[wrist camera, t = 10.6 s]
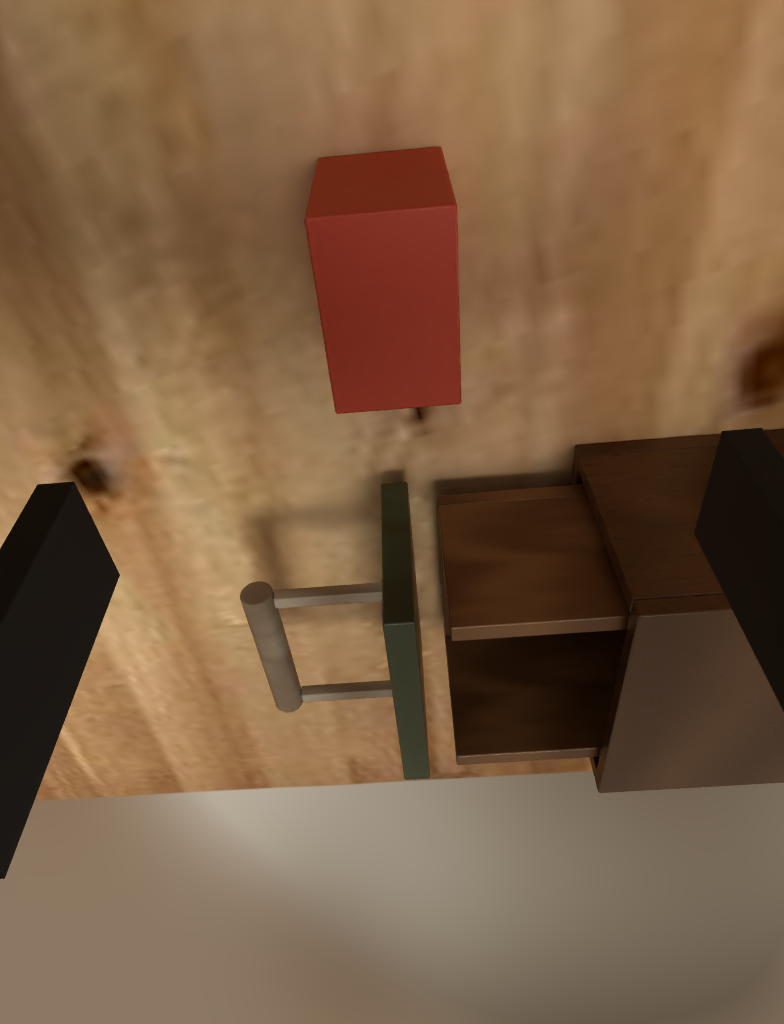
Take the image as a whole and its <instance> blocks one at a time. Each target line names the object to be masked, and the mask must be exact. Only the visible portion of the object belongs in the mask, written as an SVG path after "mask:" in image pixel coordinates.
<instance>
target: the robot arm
mask: <svg viewBox="0 0 784 1024" xmlns="http://www.w3.org/2000/svg"><path fill="white" fill-rule="evenodd" d="M694 535H695V537H696V539H697V541H698V543H699V545H700V547H701V549H702V551H703V553H704V555H705V557H706V559H707V561H708V563H709V565H710V567H711V569H712V571H713V573H714V575H715V577H716V579H717V581H718V583H719V585H720V587H721V589H722V591H723V593H724V595H725V597H726V599H727V600H728V602H729V604H730V606H731V608H732V610H733V612H734V614H735V616H736V618H737V620H738V622H739V624H740V626H741V628H742V630H743V632H744V634H745V636H746V638H747V640H748V642H749V644H750V646H751V648H752V650H753V652H754V654H755V656H756V658H757V660H758V662H759V664H760V666H761V668H762V670H763V672H764V674H765V676H766V678H767V680H768V682H769V684H770V686H771V688H772V690H773V692H774V694H775V696H776V698H777V700H778V702H779V704H780V706H781V708H782V710H783V712H784V458H783V457H782V455H781V454H780V453H779V451H778V450H777V449H776V447H775V446H774V444H773V443H772V442H771V440H770V439H769V438H768V436H767V435H766V434H765V432H764V431H763V429H762V428H756V429H743V430H731V431H722V432H721V436H720V440H719V443H718V447H717V451H716V454H715V458H714V462H713V465H712V469H711V472H710V476H709V480H708V483H707V487H706V491H705V494H704V498H703V502H702V505H701V509H700V513H699V516H698V520H697V524H696V527H695V531H694ZM119 576H120V574H119V572H118V570H117V568H116V566H115V564H114V562H113V560H112V558H111V556H110V554H109V552H108V550H107V548H106V546H105V544H104V542H103V540H102V538H101V536H100V533H99V531H98V529H97V527H96V525H95V523H94V521H93V519H92V517H91V515H90V513H89V511H88V509H87V507H86V505H85V503H84V501H83V499H82V497H81V495H80V493H79V491H78V489H77V486H76V484H75V482H64V483H51V484H38V485H37V486H36V488H35V490H34V492H33V493H32V495H31V497H30V498H29V500H28V502H27V504H26V505H25V507H24V509H23V511H22V512H21V514H20V516H19V517H18V519H17V521H16V523H15V524H14V526H13V528H12V530H11V531H10V533H9V535H8V536H7V538H6V540H5V542H4V543H3V545H2V547H1V549H0V879H4V878H5V876H6V874H7V871H8V868H9V866H10V863H11V861H12V858H13V855H14V853H15V850H16V847H17V845H18V842H19V839H20V837H21V834H22V831H23V829H24V826H25V824H26V821H27V818H28V816H29V813H30V810H31V808H32V805H33V803H34V800H35V797H36V795H37V792H38V789H39V787H40V784H41V781H42V779H43V776H44V774H45V771H46V768H47V766H48V763H49V760H50V758H51V755H52V753H53V750H54V747H55V745H56V742H57V739H58V737H59V734H60V731H61V729H62V726H63V724H64V721H65V718H66V716H67V713H68V710H69V708H70V705H71V702H72V700H73V697H74V695H75V692H76V689H77V687H78V684H79V681H80V679H81V676H82V673H83V671H84V668H85V666H86V663H87V660H88V658H89V655H90V652H91V650H92V647H93V644H94V642H95V639H96V637H97V634H98V631H99V629H100V626H101V623H102V621H103V618H104V615H105V613H106V610H107V608H108V605H109V602H110V600H111V597H112V594H113V592H114V589H115V586H116V584H117V581H118V579H119Z"/></svg>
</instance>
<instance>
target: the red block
mask: <svg viewBox="0 0 784 1024" xmlns="http://www.w3.org/2000/svg"><path fill="white" fill-rule="evenodd" d="M305 227H306V233H307V239H308V245H309V251H310V258H311V264H312V270H313V276H314V282H315V289H316V295H317V301H318V307H319V313H320V320H321V326H322V332H323V338H324V344H325V350H326V357H327V363H328V369H329V375H330V381H331V388H332V394H333V400H334V406H335V412H336V413H337V414H341V413H353V412H366V411H378V410H390V409H403V408H415V407H428V406H440V405H452V404H460V403H461V365H460V318H459V272H458V225H457V204H456V200H455V196H454V193H453V189H452V185H451V182H450V178H449V174H448V170H447V167H446V163H445V159H444V156H443V152H442V148H441V147H430V148H420V149H409V150H399V151H389V152H378V153H368V154H357V155H347V156H337V157H326V158H319V159H318V161H317V166H316V170H315V175H314V179H313V184H312V188H311V193H310V197H309V202H308V207H307V211H306V216H305Z"/></svg>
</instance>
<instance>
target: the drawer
mask: <svg viewBox="0 0 784 1024" xmlns="http://www.w3.org/2000/svg"><path fill="white" fill-rule="evenodd" d="M437 503H438V522H439V541H440V559H441V578H442V597H443V615H444V634H445V644H446V655H447V666H448V676H449V687H450V697H451V708H452V718H453V729H454V740H455V750H456V761H457V764H458V765H466V764H483V763H499V762H516V761H533V760H550V759H566V758H583V757H600V753H601V748H602V743H603V739H604V734H605V729H606V725H607V720H608V715H609V711H610V706H611V701H612V697H613V692H614V687H615V683H616V678H617V673H618V669H619V664H620V659H621V655H622V650H623V645H624V641H625V636H626V631H627V627H628V622H629V617H630V612H629V610H628V607H627V604H626V602H625V599H624V596H623V593H622V590H621V588H620V585H619V582H618V579H617V576H616V574H615V571H614V568H613V565H612V563H611V560H610V557H609V554H608V551H607V549H606V546H605V543H604V540H603V537H602V535H601V532H600V529H599V526H598V523H597V521H596V518H595V515H594V512H593V509H592V507H591V504H590V501H589V498H588V495H587V493H586V490H585V487H584V484H580V485H567V486H554V487H541V488H527V489H514V490H501V491H488V492H475V493H461V494H448V495H438V496H437ZM381 522H382V583H368V584H354V585H340V586H326V587H312V588H298V589H283V590H275V591H274V592H273V589H272V587H271V586H270V585H269V584H268V583H266V582H262V581H257V582H253V583H250V584H248V585H247V586H245V587H244V588H243V590H242V591H241V594H240V600H241V603H242V606H243V609H244V611H245V614H246V617H247V620H248V623H249V626H250V629H251V632H252V635H253V638H254V641H255V644H256V647H257V650H258V653H259V656H260V659H261V662H262V665H263V668H264V671H265V674H266V677H267V680H268V683H269V686H270V689H271V692H272V694H273V697H274V700H275V703H276V706H277V708H278V709H279V710H281V711H283V712H293V711H295V710H297V709H298V708H299V707H300V706H301V705H302V703H303V702H314V701H330V700H345V699H361V698H376V697H392V696H393V701H394V708H395V715H396V722H397V729H398V736H399V743H400V750H401V757H402V764H403V771H404V778H405V779H406V780H410V779H427V778H430V771H429V755H428V739H427V723H426V707H425V691H424V675H423V659H422V643H421V630H420V619H419V608H418V597H417V585H416V574H415V563H414V551H413V540H412V529H411V517H410V506H409V495H408V484H407V482H394V483H382V484H381ZM377 601H382V619H383V631H384V638H385V645H386V652H387V659H388V666H389V673H390V680H387V681H372V682H357V683H341V684H326V685H311V686H302V689H301V686H300V683H299V679H298V676H297V672H296V669H295V665H294V662H293V658H292V655H291V651H290V648H289V644H288V641H287V637H286V634H285V630H284V627H283V624H282V620H281V617H280V613H279V610H278V608H291V607H306V606H320V605H334V604H349V603H363V602H377Z"/></svg>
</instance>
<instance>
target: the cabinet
mask: <svg viewBox="0 0 784 1024" xmlns="http://www.w3.org/2000/svg"><path fill="white" fill-rule="evenodd" d="M764 432H765V434H766V435H767V436H768V438H769V439H770V440H771V442H772V443H773V444H774V446H775V447H776V449H777V450H778V451H779V453H780V454H781V455H782V457H783V458H784V429H781V430H768V431H764ZM720 436H721V434H717V435H704V436H691V437H678V438H665V439H653V440H640V441H627V442H614V443H601V444H588V445H577V446H576V448H575V457H574V466H573V475H572V484H571V485H580V484H584V487H585V490H586V493H587V495H588V498H589V501H590V504H591V507H592V509H593V512H594V515H595V518H596V521H597V523H598V526H599V529H600V532H601V535H602V537H603V540H604V543H605V546H606V549H607V551H608V554H609V557H610V560H611V563H612V565H613V568H614V571H615V574H616V576H617V579H618V582H619V585H620V588H621V590H622V593H623V596H624V599H625V602H626V604H627V607H628V610H629V612H630V617H629V622H628V627H627V631H626V636H625V641H624V645H623V650H622V655H621V659H620V664H619V669H618V673H617V678H616V683H615V687H614V692H613V697H612V701H611V706H610V711H609V715H608V720H607V725H606V729H605V734H604V739H603V743H602V748H601V753H600V757H590V761H591V765H592V769H593V773H594V776H595V781H596V784H597V789H598V792H599V793H609V792H625V791H643V790H661V789H679V788H694V787H712V786H731V785H746V784H764V783H783V782H784V712H783V710H782V708H781V706H780V704H779V702H778V700H777V698H776V696H775V694H774V692H773V690H772V688H771V686H770V684H769V682H768V680H767V678H766V676H765V674H764V672H763V670H762V668H761V666H760V664H759V662H758V660H757V658H756V656H755V654H754V652H753V650H752V648H751V646H750V644H749V642H748V640H747V638H746V636H745V634H744V632H743V630H742V628H741V626H740V624H739V622H738V620H737V618H736V616H735V614H734V612H733V610H732V608H731V606H730V604H729V602H728V600H727V599H726V597H725V595H724V593H723V591H722V589H721V587H720V585H719V583H718V581H717V579H716V577H715V575H714V573H713V571H712V569H711V567H710V565H709V563H708V561H707V559H706V557H705V555H704V553H703V551H702V549H701V547H700V545H699V543H698V541H697V539H696V537H695V535H694V531H695V527H696V524H697V520H698V516H699V513H700V509H701V505H702V502H703V498H704V494H705V491H706V487H707V483H708V480H709V476H710V472H711V469H712V465H713V462H714V458H715V454H716V451H717V447H718V443H719V440H720Z"/></svg>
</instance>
